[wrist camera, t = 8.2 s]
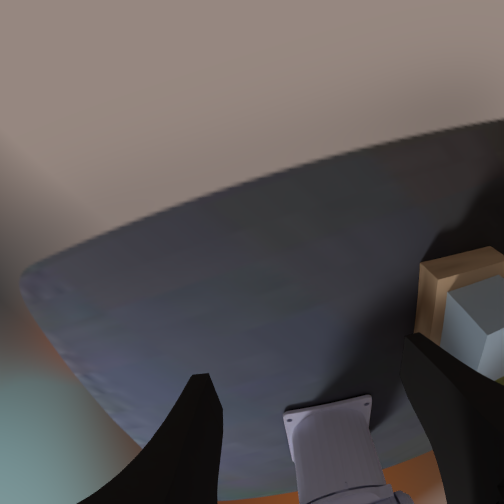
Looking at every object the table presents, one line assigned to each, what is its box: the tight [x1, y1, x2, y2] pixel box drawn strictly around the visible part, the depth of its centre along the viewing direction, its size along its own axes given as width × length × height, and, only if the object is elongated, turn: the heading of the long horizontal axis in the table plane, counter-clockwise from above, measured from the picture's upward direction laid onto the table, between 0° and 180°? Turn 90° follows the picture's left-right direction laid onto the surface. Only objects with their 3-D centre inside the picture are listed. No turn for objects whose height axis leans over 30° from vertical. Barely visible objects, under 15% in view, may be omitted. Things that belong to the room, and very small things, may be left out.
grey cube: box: [440, 275, 504, 381], centre depth 16 cm, size 5×5×5 cm
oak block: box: [414, 246, 504, 346], centre depth 20 cm, size 7×7×3 cm
